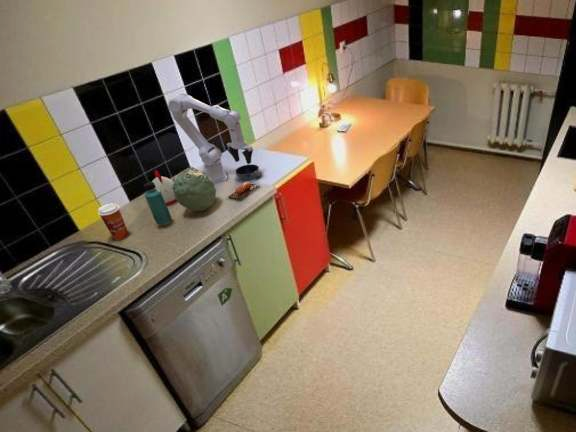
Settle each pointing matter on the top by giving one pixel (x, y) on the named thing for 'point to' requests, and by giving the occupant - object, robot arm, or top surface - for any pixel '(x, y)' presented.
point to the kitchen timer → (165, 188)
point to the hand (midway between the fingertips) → (243, 162)
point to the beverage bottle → (157, 204)
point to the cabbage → (194, 189)
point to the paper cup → (113, 220)
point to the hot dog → (243, 187)
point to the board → (243, 193)
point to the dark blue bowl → (247, 172)
